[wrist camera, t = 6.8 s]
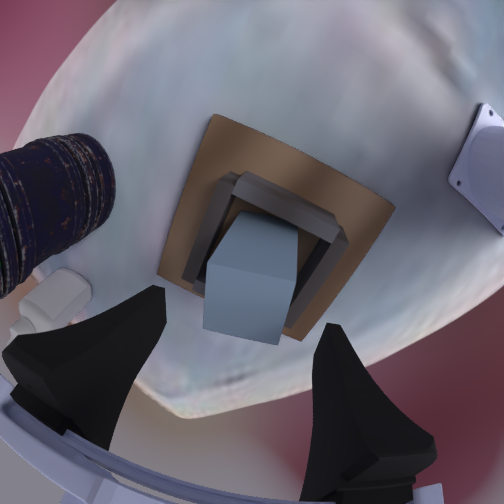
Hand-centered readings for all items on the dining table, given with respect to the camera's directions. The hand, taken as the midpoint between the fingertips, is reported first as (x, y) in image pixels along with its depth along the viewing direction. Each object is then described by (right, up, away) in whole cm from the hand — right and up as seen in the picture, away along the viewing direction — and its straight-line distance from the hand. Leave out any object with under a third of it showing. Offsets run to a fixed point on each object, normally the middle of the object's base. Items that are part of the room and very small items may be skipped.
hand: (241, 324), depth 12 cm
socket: (+2, +4, +9) cm, 10 cm away
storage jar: (-16, +10, +10) cm, 21 cm away
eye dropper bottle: (-20, 0, +16) cm, 25 cm away
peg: (+1, +4, +8) cm, 9 cm away
